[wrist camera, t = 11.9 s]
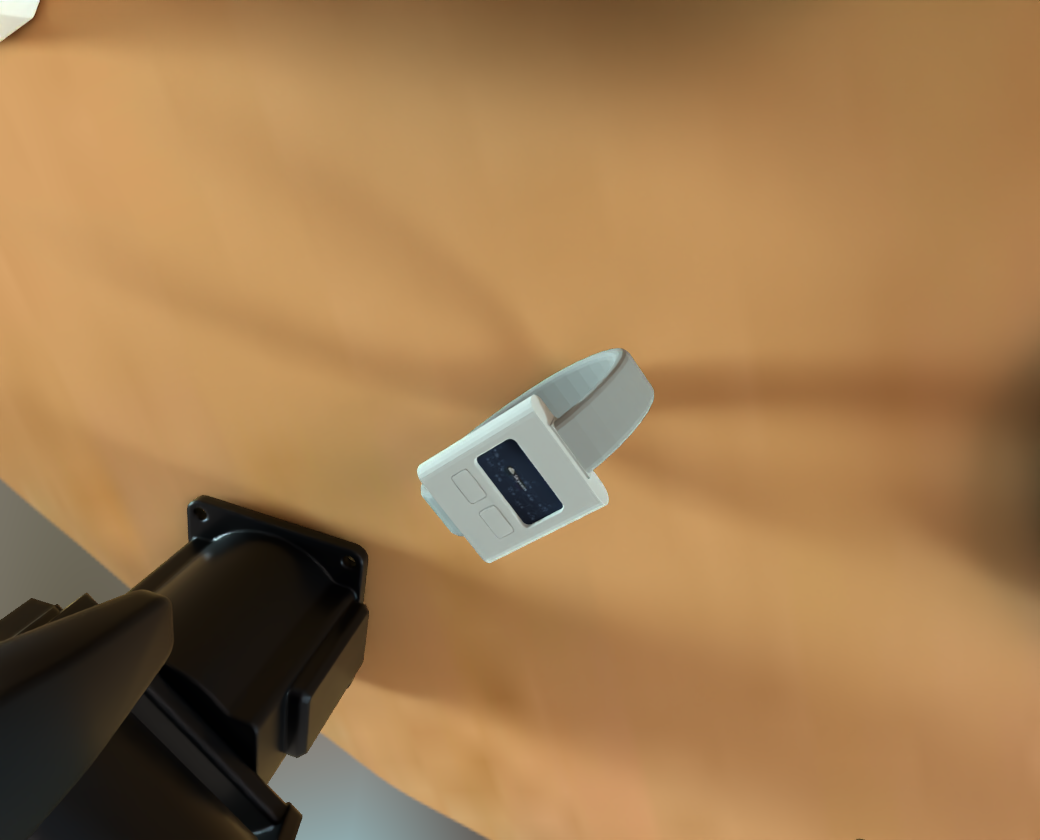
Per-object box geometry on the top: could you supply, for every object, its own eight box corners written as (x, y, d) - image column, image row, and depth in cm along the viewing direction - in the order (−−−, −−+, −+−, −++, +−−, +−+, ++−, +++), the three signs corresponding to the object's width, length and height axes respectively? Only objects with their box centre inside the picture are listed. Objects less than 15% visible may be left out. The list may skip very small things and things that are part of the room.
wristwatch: (496, 488, 19) (439, 593, 15) (440, 415, 19) (364, 502, 14) (676, 387, 17) (672, 477, 12) (618, 300, 16) (592, 363, 12)
